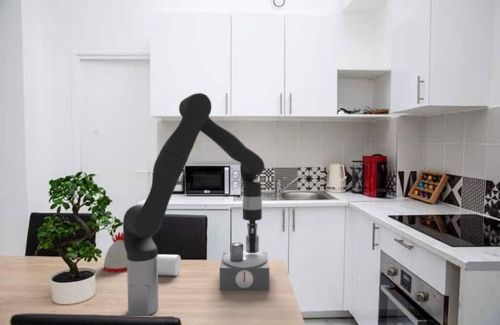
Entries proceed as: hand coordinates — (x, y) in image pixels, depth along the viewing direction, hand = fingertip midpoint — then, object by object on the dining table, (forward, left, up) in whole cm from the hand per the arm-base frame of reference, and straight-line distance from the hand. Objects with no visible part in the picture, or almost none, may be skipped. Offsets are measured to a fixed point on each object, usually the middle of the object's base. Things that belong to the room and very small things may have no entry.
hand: (252, 249), depth 129 cm
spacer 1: (-6, +6, -2) cm, 9 cm away
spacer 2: (0, 0, -1) cm, 1 cm away
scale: (-3, +3, -11) cm, 12 cm away
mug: (+5, +35, -11) cm, 37 cm away
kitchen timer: (+12, +57, -11) cm, 59 cm away
